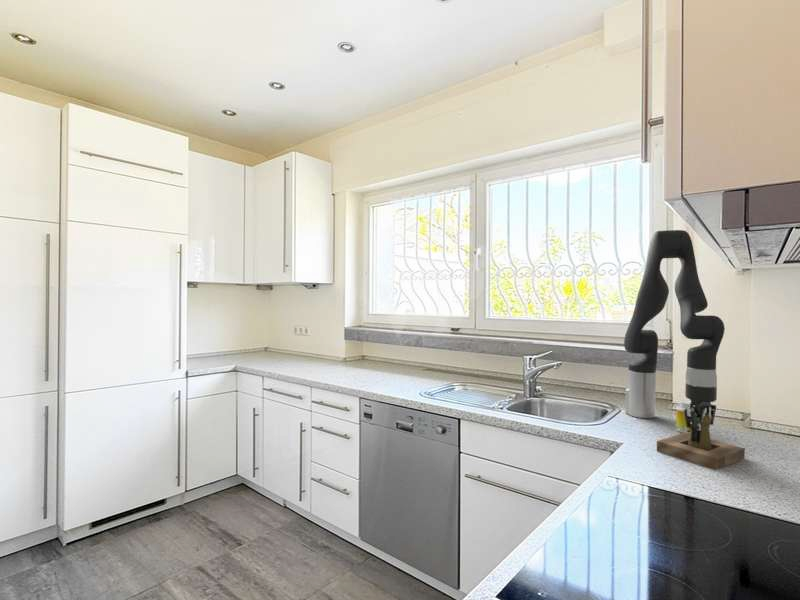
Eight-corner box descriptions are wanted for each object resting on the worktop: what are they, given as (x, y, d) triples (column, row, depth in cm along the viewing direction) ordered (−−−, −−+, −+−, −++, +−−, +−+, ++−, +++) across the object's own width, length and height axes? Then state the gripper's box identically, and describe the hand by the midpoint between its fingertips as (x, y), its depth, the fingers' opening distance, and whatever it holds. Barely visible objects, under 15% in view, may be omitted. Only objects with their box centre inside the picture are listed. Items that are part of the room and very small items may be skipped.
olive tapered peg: (688, 445, 131) (689, 409, 131) (713, 449, 127) (713, 412, 127) (686, 450, 126) (686, 413, 126) (711, 455, 122) (712, 417, 122)
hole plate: (656, 450, 129) (656, 440, 129) (684, 441, 138) (684, 432, 138) (717, 470, 116) (717, 459, 116) (744, 458, 124) (744, 448, 124)
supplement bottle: (690, 435, 144) (691, 405, 143) (672, 430, 148) (673, 401, 148) (698, 432, 146) (699, 402, 146) (681, 428, 151) (681, 399, 151)
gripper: (699, 378, 133) (698, 433, 133) (674, 383, 126) (673, 441, 126) (727, 383, 127) (726, 441, 127) (702, 388, 119) (701, 449, 120)
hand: (699, 440), depth 127 cm, fingers closed on olive tapered peg, 4 cm apart
